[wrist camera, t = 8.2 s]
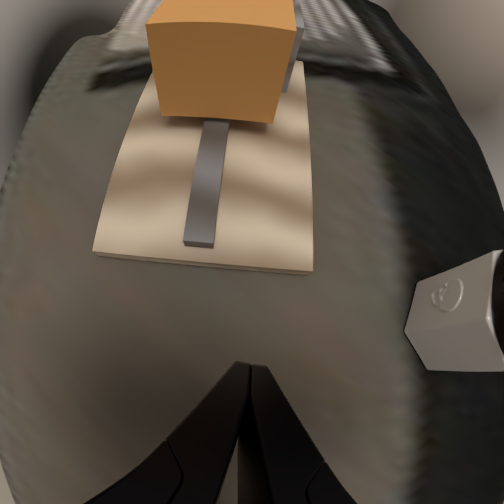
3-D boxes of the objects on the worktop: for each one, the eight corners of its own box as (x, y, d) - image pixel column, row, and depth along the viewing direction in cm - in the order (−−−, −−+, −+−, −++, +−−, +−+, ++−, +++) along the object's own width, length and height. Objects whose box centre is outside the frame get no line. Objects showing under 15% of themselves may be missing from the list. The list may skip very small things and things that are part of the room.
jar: (418, 259, 23) (519, 204, 11) (473, 292, 23) (565, 260, 11) (392, 356, 20) (512, 353, 9) (453, 379, 20) (556, 380, 8)
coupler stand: (308, 275, 21) (363, 230, 13) (98, 255, 20) (35, 204, 11) (300, 69, 29) (319, 6, 20) (164, 58, 27) (157, -6, 18)
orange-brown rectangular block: (272, 123, 22) (296, 31, 13) (161, 115, 21) (145, 23, 12) (274, 79, 23) (292, -2, 15) (177, 72, 23) (171, -8, 14)
